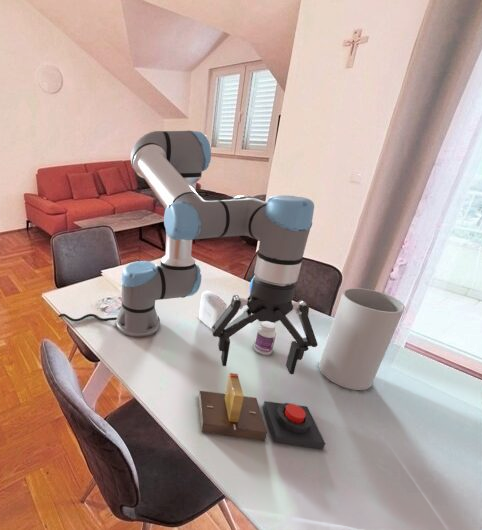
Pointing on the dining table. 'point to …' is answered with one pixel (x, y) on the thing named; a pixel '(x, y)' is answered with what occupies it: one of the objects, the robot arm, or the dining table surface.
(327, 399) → the dining table surface
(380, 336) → the cylinder vase
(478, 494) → the dining table surface
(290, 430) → the button box
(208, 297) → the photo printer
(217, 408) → the panel
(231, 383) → the lock handle
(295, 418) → the button
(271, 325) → the pill bottle
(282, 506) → the dining table surface
